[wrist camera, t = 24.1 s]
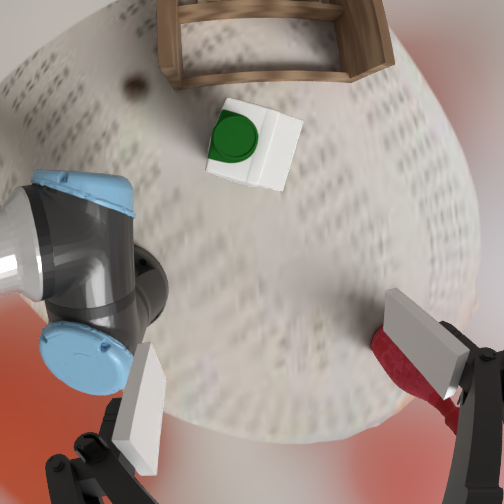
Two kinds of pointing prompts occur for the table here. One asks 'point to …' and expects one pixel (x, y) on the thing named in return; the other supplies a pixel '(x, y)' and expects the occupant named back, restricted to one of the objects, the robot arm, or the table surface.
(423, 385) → the wine bottle
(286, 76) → the walnut rack
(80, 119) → the table surface
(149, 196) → the table surface
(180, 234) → the table surface
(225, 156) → the soya milk
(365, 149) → the table surface
